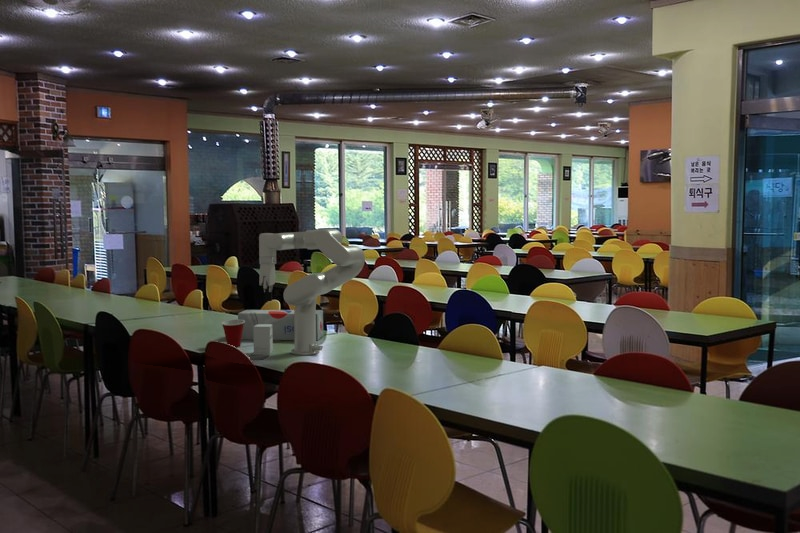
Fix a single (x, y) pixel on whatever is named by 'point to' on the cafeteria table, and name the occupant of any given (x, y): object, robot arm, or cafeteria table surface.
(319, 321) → the soda pack
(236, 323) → the plastic cup
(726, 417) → the cafeteria table surface
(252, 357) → the mat
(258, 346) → the supplement box
